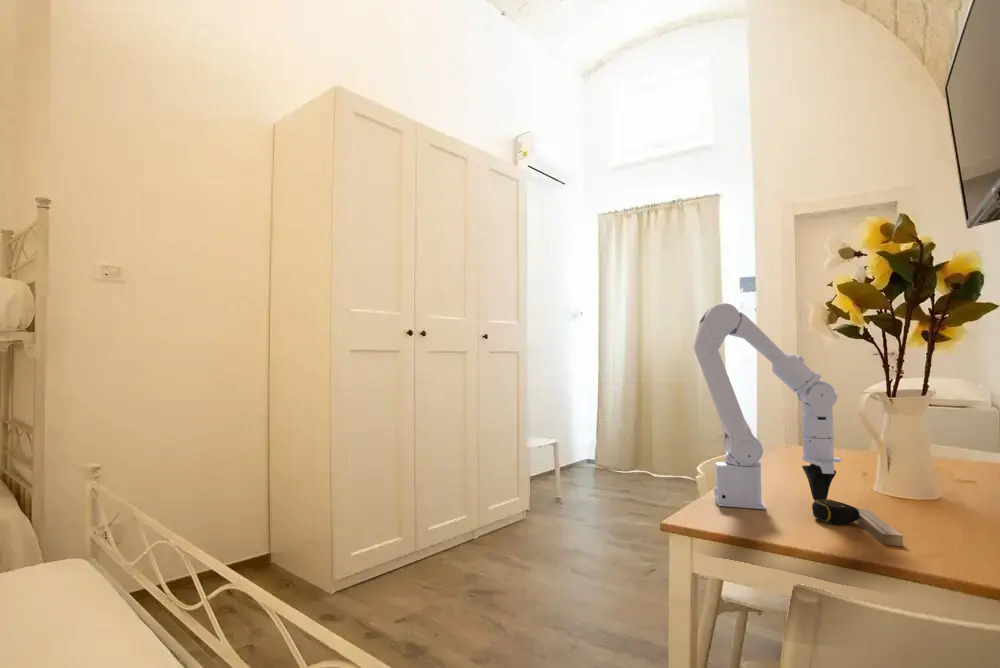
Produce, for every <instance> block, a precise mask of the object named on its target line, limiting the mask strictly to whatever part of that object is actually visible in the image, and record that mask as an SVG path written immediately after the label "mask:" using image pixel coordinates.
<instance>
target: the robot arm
mask: <svg viewBox="0 0 1000 668" xmlns="http://www.w3.org/2000/svg"><path fill="white" fill-rule="evenodd" d="M698 323H699V324H698V327H697V328H698V329H697V331H696V332H697V333H696V337H695V340H694V345H693V351H694V353H695V356H696V358H697V361H698V365H699V367H700V369H701V372H702V374H703V377H704V380H705V382H706V385H707V387H708V390H709V392H710V396H711V398H712V401H713V403H714V406H715V409H716V412H717V414H718V417H719V419H720V423H721V430H722V431H723V435H724V438H723V439H724V440H723V446H724V449H725V451H726V452H727V453H728V454H727V455H726V456H725V458H724V461H716V462H715V463H714V489H713V492H714V498H715V501H716V503H717V505H718V506H719V507H730V508H741V509H754V510H767V505H766V504H764V501H763V500H762V498H763V497H762V462H761V461H760V460H761V458H762V456H763V454H764V453H763V452H764V451H763V450H764V449H763V445H762V443H761V441H759V439H758V438H756V437H755V435H754V434H753V432H752V429H751V428H750V426H749V423H748V422H747V421H746V418H745V417H744V414H743V411H742V408H741V406H740V403H739V401H738V398H737V395H736V393H735V391H734V390H735V389H734V388H733V385H732V382H731V380H730V377H729V375H728V372H727V369H726V366H725V364H724V362H723V359H722V356H721V354H720V351H719V349H720V348H721V346H722V344H723V342H724V341H725V339H726V338H727V336H732V337H737V338H741V339H744V340H745V341H746V342H747V343H748V344H749V345H750V346H752V347H753V348H754V349H755V350H756V351H758V352H759V353H760V354H761V355H762V356H763V357H765V358H766V359H767V360H768V361H769V362H770V363H771V367H772V373H773V374H774V375H775V376H777V378H778V379H780V380H781V381H782V382H783V383H784V384H785V385H786V386H787V387H788V388H789V389H790V390H792V391H793V392H794V393H796V396H797V399H798V400H799V402H801V408H802V410H801V411H802V412H801V423H802V424H801V425H802V430H801V431H802V432H801V433H802V455H801V460H802V461H804V462H806V463H809V465H808V464H807V465H802V466H801V468H802V470H803V472H804V473H805V475H806V478H807V481H808V484H809V489H810V493H811V496H812V498H813V502H814V501H815V500H826V499H828V495H829V490H830V486H831V484H832V482H833V480H834V478H835V476H836V474H837V471H836V470H835V464H836V463H841V462H842V460H841V458H840V457H835V446H834V444H835V442H834V416H833V406H834V405H835V404H836V402H837V400H838V394H836V392H835V391H836V390H835V388H834V386H832V385H831V384H830V383H828V382H825V381H822V380H821V378H822V375H821V374H820V373H818V372H816V373H815V372H814V371H813V370H812V369H811V368H810V367H808V365H806V364H805V362H804V361H805V359H804V357H802V356H801V355H796V354H794V353H784V351H782V350H781V349H780V348H779V347H778V345H776V344H775V343H774V341H773V340H772V339H770V337H768V335H766V334H765V333H764V332H763V331H762V329H760V328H759V327H758V325H756V324H755V322H753V321H752V320H751V318H749V317H748V316H747V315H745V313H743V312H741V311H740V312H739V310H738V309H737V307H736V306H734V305H733V304H730V303H728V302H727V303H725V302H723V303H718V304H717V305H714V306H712V307H710V308H709V309H707V310H706V312H704V314H703V316H702V317H701V319H700V320H699V322H698Z"/></svg>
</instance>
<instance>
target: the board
mask: <svg viewBox="0 0 1000 668" xmlns="http://www.w3.org/2000/svg"><path fill="white" fill-rule="evenodd" d="M855 508H856V507H855ZM856 509H858V511H859V519H858V520H856V521H855V522H857V524H859V525H860V526H861V527H862V528H864V530H866V532H868V533H869V534H870V535H872V536H873V537H874V538H875V539H876V540H877V541H878V542H879V543H880V544H881V545H885V546H894V547H895V546H899V547H904V536H903V534H902V533H900V532H899V531H898V530H896V529H895V528H894V527H893V526H891V525H889V524H888V523H887V522H886V521H885V520H883V519H882V517H879V516H878V515H877V514H876V513H874V512H873V511H871V510H870V509H869V508H856Z"/></svg>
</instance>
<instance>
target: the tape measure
mask: <svg viewBox="0 0 1000 668" xmlns="http://www.w3.org/2000/svg"><path fill="white" fill-rule="evenodd" d="M811 506H812V507H811V509H812V514H813V517H815V518H816V519H817V520H821V521H823V522H824V523H828V524H830V525H833V524H837V525H841V524H842V525H847V524H850V523H852V522H857V521H856V520H858V519H859V511H858V509H856V507H854V506H852V505H849V504H847V503H843V502H840V501H836V500H832V499H829V498H827V499H826V500H815V501H814V500H813V503H812V505H811Z"/></svg>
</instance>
